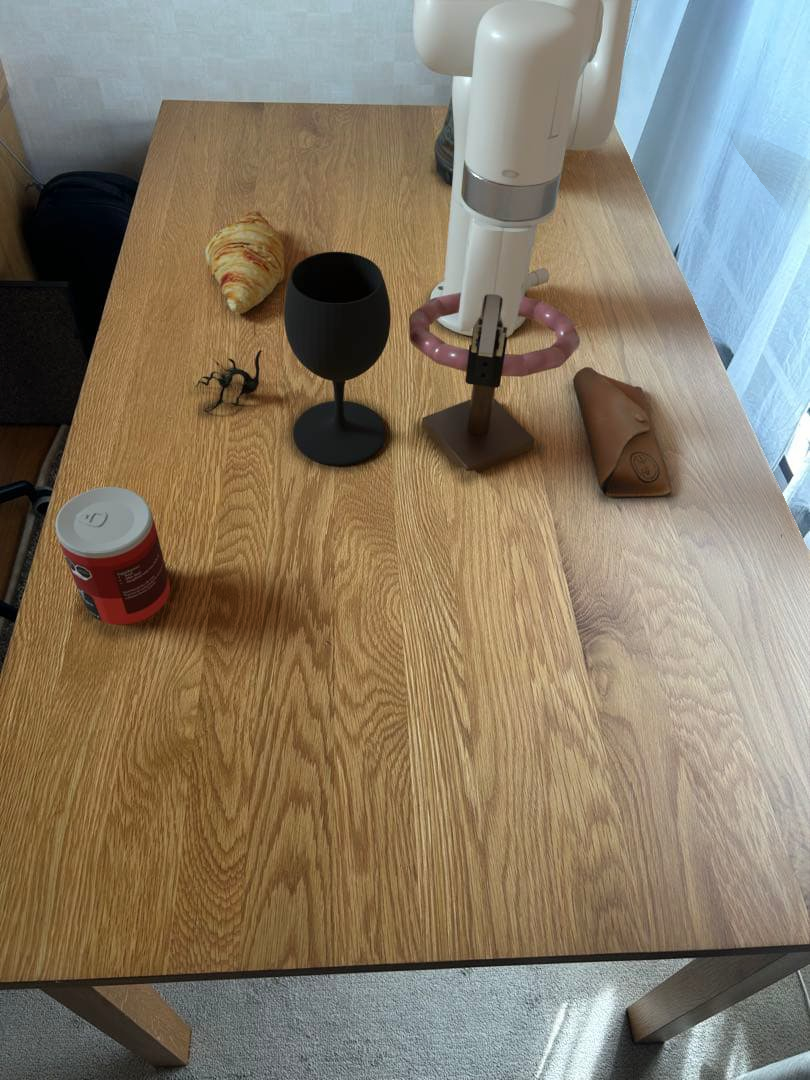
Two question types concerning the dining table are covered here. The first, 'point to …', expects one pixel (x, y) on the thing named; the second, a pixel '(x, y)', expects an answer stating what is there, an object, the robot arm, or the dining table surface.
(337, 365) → the wine glass
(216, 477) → the dining table surface
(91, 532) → the canned food
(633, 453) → the sunglasses case
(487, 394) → the stand
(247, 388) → the creature
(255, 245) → the croissant
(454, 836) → the dining table surface
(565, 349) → the ring
